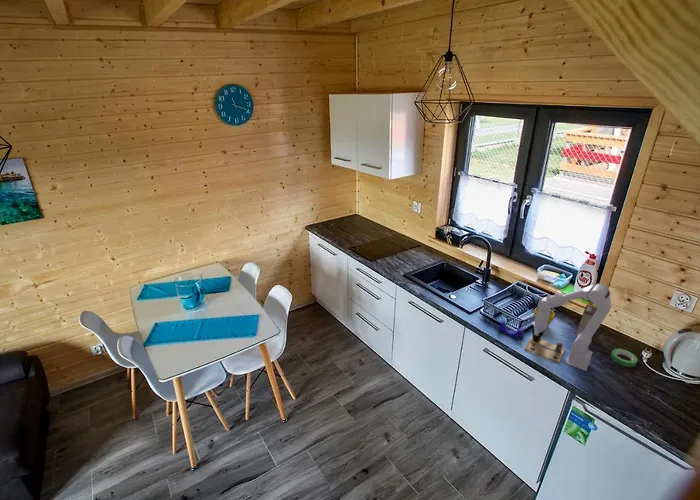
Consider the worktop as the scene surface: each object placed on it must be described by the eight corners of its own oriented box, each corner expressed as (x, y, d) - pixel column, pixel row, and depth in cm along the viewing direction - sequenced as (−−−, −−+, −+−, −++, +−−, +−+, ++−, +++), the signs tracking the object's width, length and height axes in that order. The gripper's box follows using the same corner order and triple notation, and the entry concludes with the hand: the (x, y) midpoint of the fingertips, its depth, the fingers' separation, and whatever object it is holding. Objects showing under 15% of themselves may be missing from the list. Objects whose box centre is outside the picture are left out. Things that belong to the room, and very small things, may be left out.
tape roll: (633, 355, 206) (635, 351, 205) (638, 369, 197) (640, 365, 196) (609, 350, 210) (610, 346, 209) (612, 363, 201) (614, 359, 200)
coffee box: (579, 327, 227) (586, 304, 220) (592, 332, 223) (599, 308, 217) (575, 335, 221) (583, 311, 214) (588, 340, 217) (596, 315, 210)
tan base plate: (564, 350, 209) (567, 340, 207) (558, 363, 200) (561, 354, 197) (531, 337, 219) (533, 328, 216) (524, 349, 209) (526, 340, 207)
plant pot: (552, 324, 230) (556, 310, 226) (549, 333, 222) (553, 319, 218) (533, 318, 235) (536, 304, 231) (529, 327, 227) (533, 312, 223)
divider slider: (540, 342, 213) (543, 333, 210) (536, 350, 207) (538, 341, 204) (532, 339, 215) (535, 330, 212) (528, 347, 209) (530, 338, 206)
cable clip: (522, 336, 220) (524, 327, 217) (519, 340, 217) (521, 331, 214) (501, 327, 227) (503, 318, 225) (498, 330, 224) (500, 322, 222)
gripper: (537, 309, 213) (532, 330, 219) (530, 322, 203) (524, 343, 209) (551, 314, 209) (546, 335, 215) (544, 327, 199) (538, 348, 205)
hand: (536, 339), depth 212 cm, fingers open, 4 cm apart
